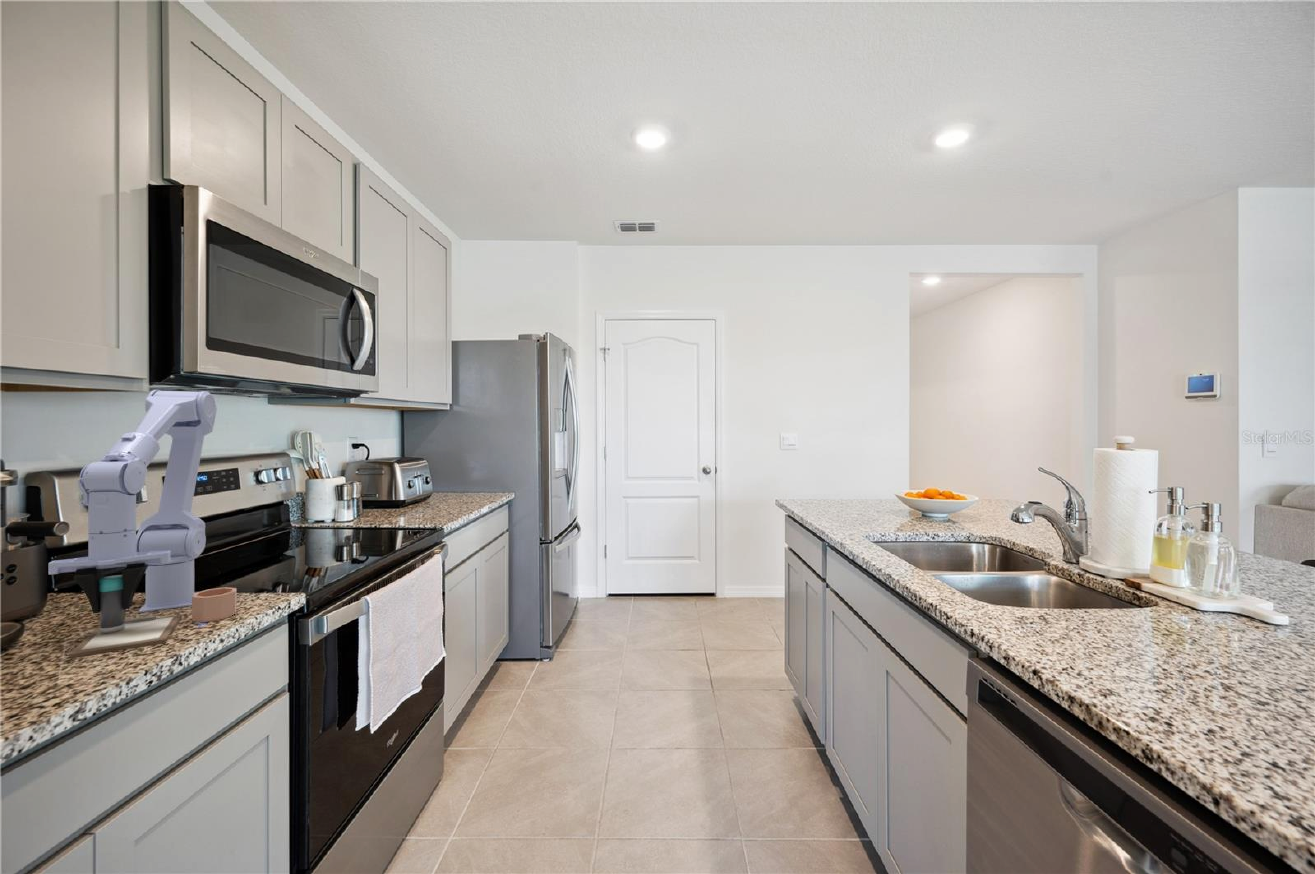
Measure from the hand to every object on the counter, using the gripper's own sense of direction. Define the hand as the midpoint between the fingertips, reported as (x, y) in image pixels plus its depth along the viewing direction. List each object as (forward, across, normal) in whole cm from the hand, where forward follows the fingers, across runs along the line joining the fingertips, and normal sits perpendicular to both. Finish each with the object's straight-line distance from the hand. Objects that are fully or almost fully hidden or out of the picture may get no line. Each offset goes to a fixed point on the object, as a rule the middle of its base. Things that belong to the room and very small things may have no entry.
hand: (112, 609), depth 90 cm
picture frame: (+4, +3, -2) cm, 6 cm away
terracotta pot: (+4, +13, +3) cm, 14 cm away
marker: (+3, 0, 0) cm, 3 cm away
